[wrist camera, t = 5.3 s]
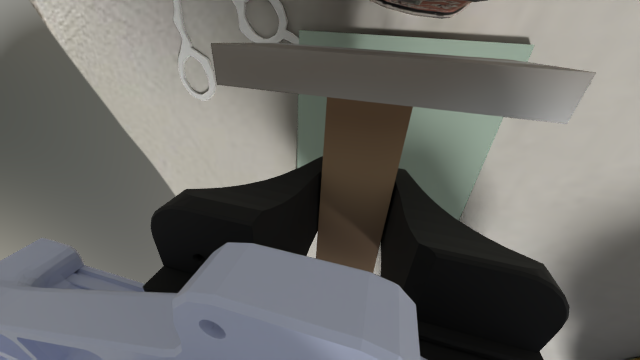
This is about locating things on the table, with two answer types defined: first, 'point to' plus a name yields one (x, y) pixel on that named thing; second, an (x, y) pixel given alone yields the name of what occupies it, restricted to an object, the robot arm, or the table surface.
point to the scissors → (244, 27)
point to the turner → (387, 117)
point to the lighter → (427, 7)
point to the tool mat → (419, 119)
